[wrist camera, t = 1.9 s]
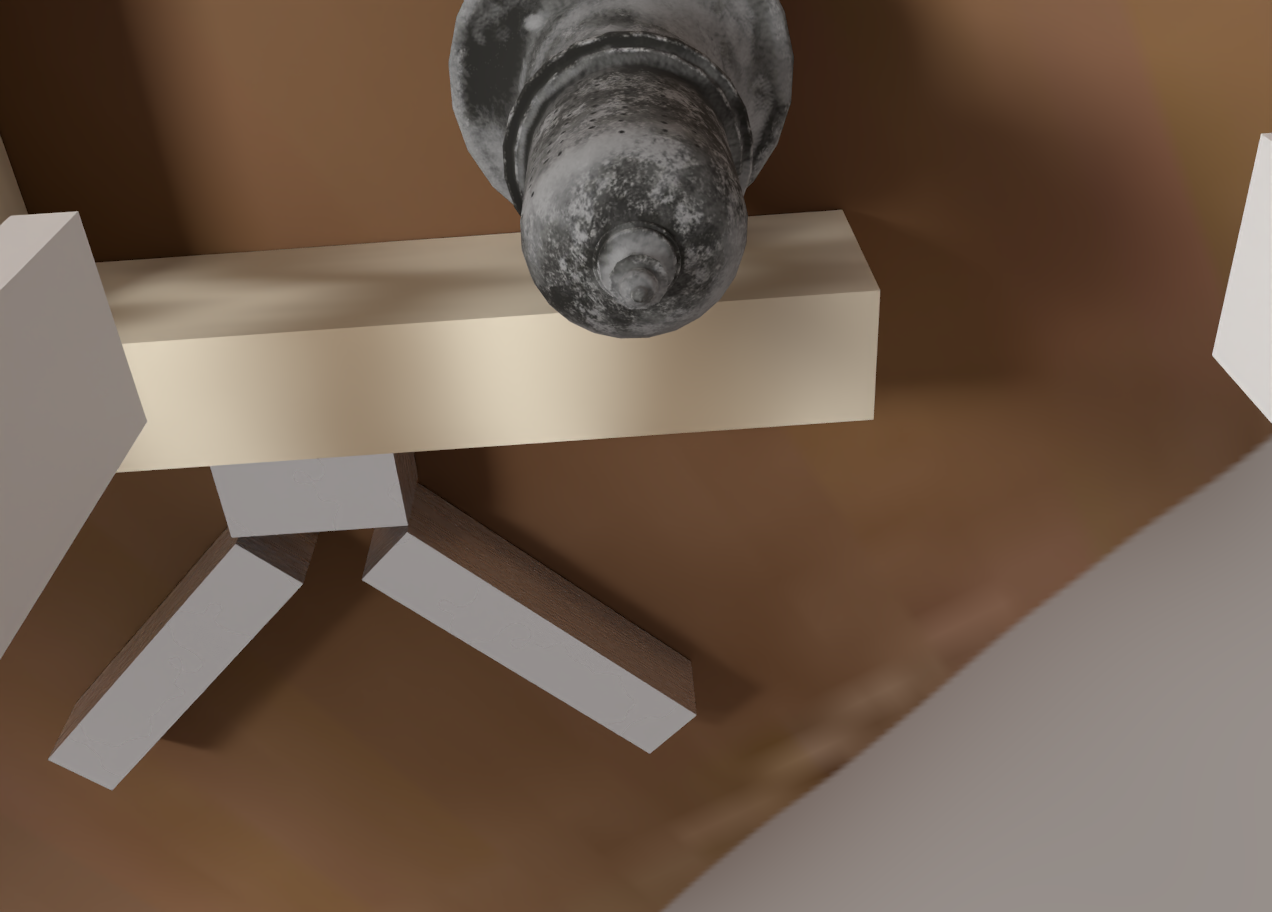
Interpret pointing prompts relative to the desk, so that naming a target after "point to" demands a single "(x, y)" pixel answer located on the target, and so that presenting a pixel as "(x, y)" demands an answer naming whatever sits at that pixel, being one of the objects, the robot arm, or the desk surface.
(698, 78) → the grey tall rounded piece
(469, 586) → the v block
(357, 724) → the desk surface
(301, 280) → the bracket
